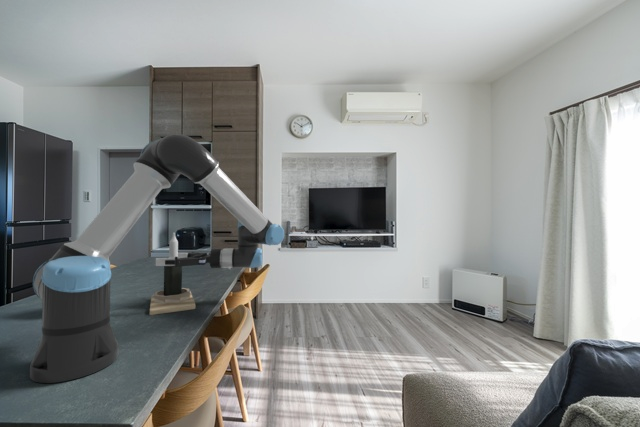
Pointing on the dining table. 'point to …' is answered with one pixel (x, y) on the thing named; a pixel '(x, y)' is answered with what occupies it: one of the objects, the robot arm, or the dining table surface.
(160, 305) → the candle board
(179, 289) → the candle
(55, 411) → the dining table surface
